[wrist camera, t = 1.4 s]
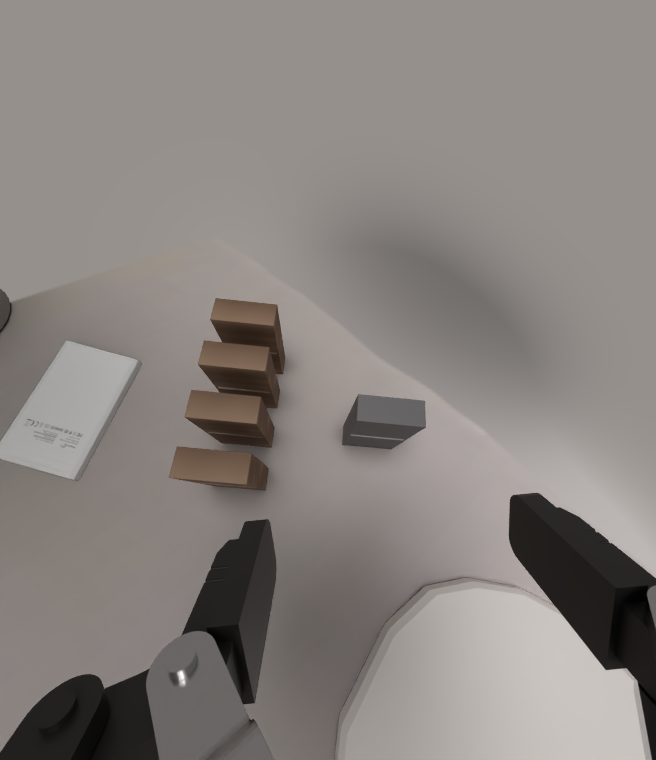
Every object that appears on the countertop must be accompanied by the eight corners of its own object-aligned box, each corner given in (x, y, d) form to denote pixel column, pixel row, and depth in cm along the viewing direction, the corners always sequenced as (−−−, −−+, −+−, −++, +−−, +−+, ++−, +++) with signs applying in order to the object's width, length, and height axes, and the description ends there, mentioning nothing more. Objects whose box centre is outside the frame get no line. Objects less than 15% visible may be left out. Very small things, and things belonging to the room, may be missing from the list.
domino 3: (271, 447, 31) (256, 424, 22) (221, 442, 31) (184, 417, 22) (274, 427, 32) (261, 396, 23) (225, 422, 32) (191, 389, 22)
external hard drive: (145, 366, 34) (83, 481, 30) (75, 346, 34) (3, 457, 30) (137, 359, 33) (71, 480, 28) (64, 339, 33) (-14, 455, 28)
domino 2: (277, 408, 33) (265, 371, 23) (229, 404, 32) (197, 364, 23) (279, 390, 33) (269, 347, 24) (232, 385, 33) (204, 340, 24)
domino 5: (391, 449, 32) (425, 427, 23) (342, 444, 32) (357, 420, 22) (391, 429, 33) (424, 400, 23) (343, 425, 32) (358, 394, 23)
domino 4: (265, 490, 30) (246, 484, 20) (212, 485, 29) (168, 477, 20) (268, 468, 30) (251, 453, 21) (217, 463, 30) (177, 446, 21)
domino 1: (282, 374, 34) (273, 326, 25) (236, 369, 34) (210, 319, 25) (285, 357, 35) (277, 304, 26) (240, 352, 35) (215, 298, 25)
